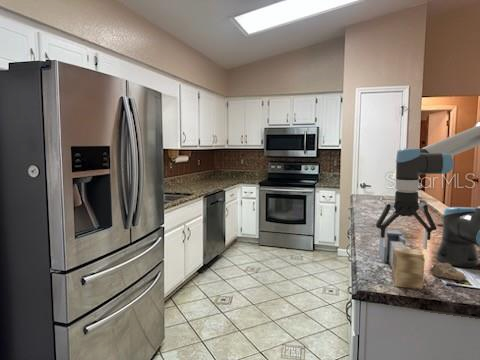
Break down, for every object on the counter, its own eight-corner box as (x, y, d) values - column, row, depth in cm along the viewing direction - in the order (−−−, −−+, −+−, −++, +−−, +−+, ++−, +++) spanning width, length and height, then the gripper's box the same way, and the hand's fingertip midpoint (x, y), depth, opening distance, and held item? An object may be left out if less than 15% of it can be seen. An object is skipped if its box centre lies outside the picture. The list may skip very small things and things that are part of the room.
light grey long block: (400, 263, 136) (402, 241, 135) (412, 281, 118) (414, 256, 117) (388, 262, 137) (389, 241, 136) (398, 279, 119) (400, 255, 118)
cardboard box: (416, 280, 120) (418, 249, 119) (422, 288, 113) (424, 256, 112) (391, 278, 122) (393, 247, 121) (396, 286, 115) (397, 254, 114)
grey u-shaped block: (397, 254, 148) (399, 230, 146) (403, 263, 137) (405, 237, 136) (379, 253, 149) (380, 229, 148) (383, 262, 138) (385, 236, 137)
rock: (427, 275, 126) (454, 280, 117) (428, 259, 127) (454, 263, 118) (441, 277, 129) (469, 282, 120) (442, 261, 130) (469, 265, 121)
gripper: (441, 189, 122) (438, 245, 124) (368, 188, 128) (367, 242, 130) (448, 193, 115) (445, 252, 117) (372, 191, 120) (370, 248, 123)
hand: (404, 247), depth 124 cm, fingers open, 13 cm apart
